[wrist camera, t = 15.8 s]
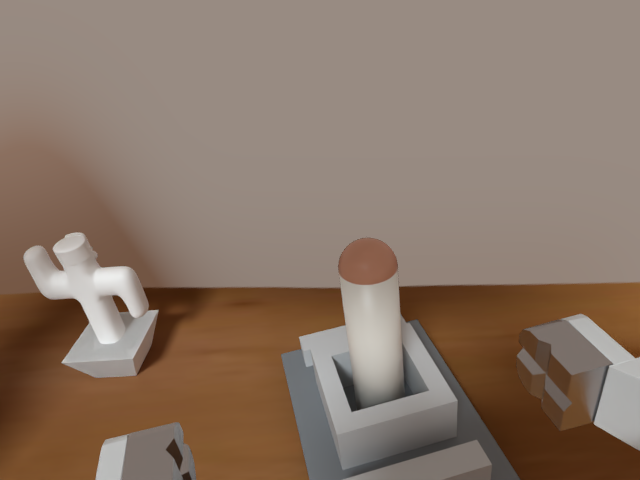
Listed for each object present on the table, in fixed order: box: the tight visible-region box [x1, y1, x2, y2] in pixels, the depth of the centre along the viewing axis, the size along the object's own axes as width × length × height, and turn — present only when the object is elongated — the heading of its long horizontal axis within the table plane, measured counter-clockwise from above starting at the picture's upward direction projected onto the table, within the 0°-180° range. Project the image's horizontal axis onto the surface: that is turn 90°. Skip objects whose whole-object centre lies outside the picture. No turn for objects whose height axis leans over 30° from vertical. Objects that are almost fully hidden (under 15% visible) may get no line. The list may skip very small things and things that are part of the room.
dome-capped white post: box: [338, 238, 405, 411], centre depth 36 cm, size 4×4×16 cm
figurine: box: [24, 233, 159, 378], centre depth 47 cm, size 7×9×15 cm
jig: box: [281, 314, 520, 480], centre depth 39 cm, size 18×14×6 cm
